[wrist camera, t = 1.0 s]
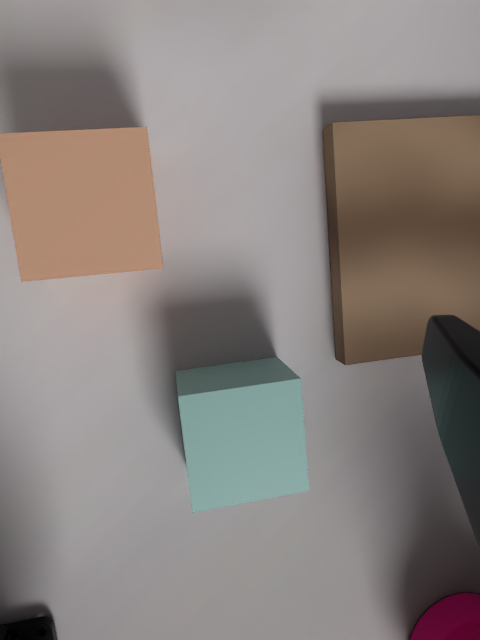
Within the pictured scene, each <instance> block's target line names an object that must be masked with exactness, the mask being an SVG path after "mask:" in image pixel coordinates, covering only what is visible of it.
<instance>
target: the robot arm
mask: <svg viewBox="0 0 480 640" xmlns="http://www.w3.org/2000/svg"><path fill="white" fill-rule="evenodd" d="M422 362H423V366H424V371H425V376H426V380H427V385H428V389H429V394H430V398H431V403H432V407H433V412H434V416H435V421H436V425H437V429H438V433H439V436H440V439H441V442H442V445H443V448H444V451H445V454H446V457H447V459H448V462H449V465H450V468H451V471H452V473H453V476H454V479H455V482H456V485H457V487H458V490H459V493H460V496H461V499H462V501H463V504H464V507H465V510H466V513H467V515H468V518H469V521H470V524H471V527H472V529H473V532H474V535H475V538H476V541H477V543H478V546H479V549H480V331H479V330H477V329H476V328H474V327H473V326H471V325H469V324H468V323H466V322H465V321H463V320H462V319H460V318H458V317H457V316H455V315H432V316H431V317H430V318H429V320H428V322H427V327H426V332H425V337H424V343H423V348H422ZM39 628H45V629H46V630H40V629H39ZM0 640H57V636H56V631H55V625H54V622H53V620H52V619H51V618H49V617H38V618H33V619H28V620H23V621H19V622H14V623H9V624H4V625H0Z"/></svg>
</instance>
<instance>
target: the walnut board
mask: <svg viewBox="0 0 480 640" xmlns="http://www.w3.org/2000/svg"><path fill="white" fill-rule="evenodd" d="M323 142H324V159H325V177H326V195H327V212H328V230H329V248H330V265H331V283H332V301H333V318H334V336H335V354H336V360H338V361H340V362H341V363H343V364H344V365H350V364H357V363H364V362H371V361H378V360H386V359H393V358H400V357H407V356H414V355H422V348H423V343H424V337H425V332H426V327H427V322H428V320H429V318H430V317H431V316H432V315H455V316H457V317H458V318H460V319H462V320H463V321H465V322H466V323H468V324H469V325H471V326H473V327H474V328H476V329H477V330H479V331H480V115H474V116H453V117H433V118H412V119H392V120H372V121H351V122H332V123H331V124H330V125H329V126H327V127H326V128H325V129H323Z"/></svg>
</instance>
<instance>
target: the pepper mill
mask: <svg viewBox="0 0 480 640" xmlns="http://www.w3.org/2000/svg"><path fill="white" fill-rule="evenodd" d="M411 640H480V595H479V594H474V593H459V594H454V595H451V596H449V597H446V598H444V599H442V600H440V601H439V602H437V603H436V604H434V605H433V606H431V607H430V608H429V609H428V610H427V611H426V613H425V614H424V615H423V616H422V617H421V618H420V619H419V621H418V623H417V624H416V626H415V628H414V630H413V633H412V636H411Z"/></svg>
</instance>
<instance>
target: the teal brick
mask: <svg viewBox="0 0 480 640" xmlns="http://www.w3.org/2000/svg"><path fill="white" fill-rule="evenodd" d="M175 373H176V383H177V393H178V402H179V410H180V418H181V426H182V434H183V442H184V450H185V458H186V466H187V474H188V482H189V490H190V498H191V506H192V513H195V512H200V511H205V510H210V509H216V508H221V507H226V506H232V505H237V504H242V503H248V502H253V501H258V500H264V499H269V498H274V497H280V496H285V495H290V494H296V493H301V492H306V491H309V481H308V468H307V455H306V442H305V429H304V416H303V402H302V389H301V378H300V377H299V376H297V375H296V374H295V373H294V372H293V371H292V370H291V369H290V368H289V367H288V366H286V365H285V364H284V363H283V362H282V361H281V360H280V359H279V358H278V357H272V358H265V359H257V360H250V361H243V362H236V363H229V364H221V365H214V366H207V367H200V368H192V369H185V370H178V371H175Z"/></svg>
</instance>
